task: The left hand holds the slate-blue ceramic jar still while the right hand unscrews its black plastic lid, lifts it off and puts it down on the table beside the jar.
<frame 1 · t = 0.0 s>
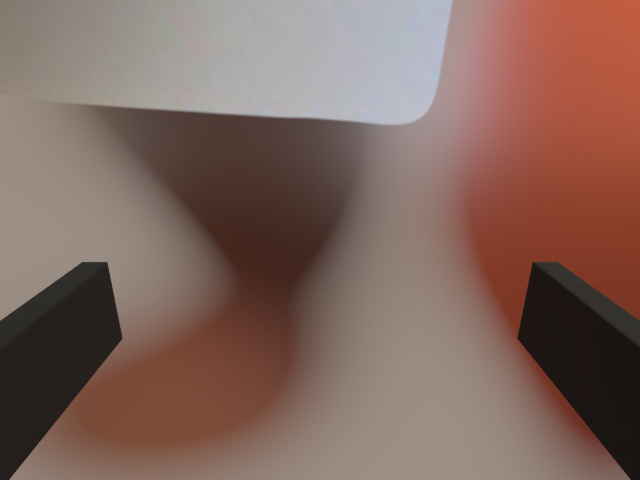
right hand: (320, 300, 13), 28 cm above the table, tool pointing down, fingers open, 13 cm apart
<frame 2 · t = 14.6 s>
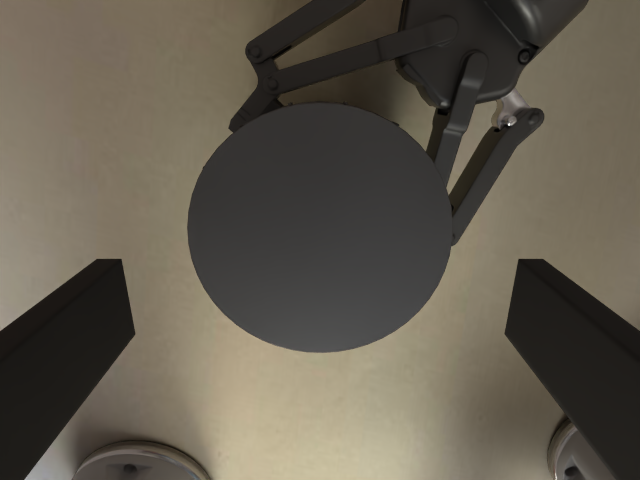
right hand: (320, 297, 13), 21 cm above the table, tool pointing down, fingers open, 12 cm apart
left hand: (279, 234, 28), fingers closed on jar, 10 cm apart
lid: (320, 239, 18), point 15 cm above the table, screwed on, not yet turned
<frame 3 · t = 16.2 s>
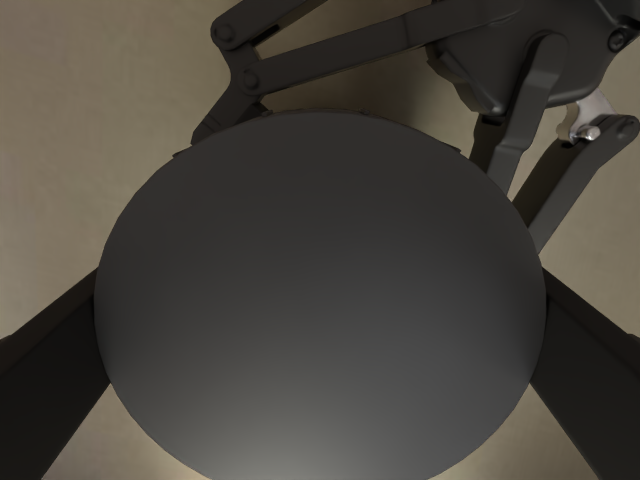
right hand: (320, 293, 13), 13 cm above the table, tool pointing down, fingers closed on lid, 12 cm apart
left hand: (265, 284, 20), fingers closed on jar, 10 cm apart
lid: (320, 337, 11), point 15 cm above the table, screwed on, not yet turned, touching right hand
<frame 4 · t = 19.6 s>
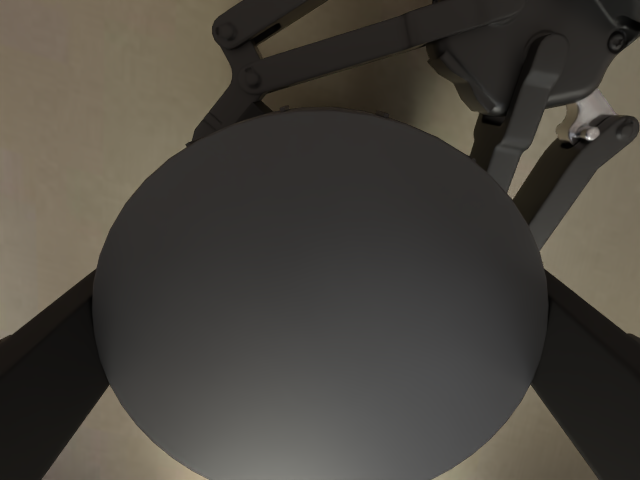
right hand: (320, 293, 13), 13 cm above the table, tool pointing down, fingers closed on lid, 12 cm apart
left hand: (265, 283, 21), fingers closed on jar, 10 cm apart
lid: (320, 338, 11), point 16 cm above the table, turned 109° so far, risen 0.2 cm, still on its thread, touching right hand
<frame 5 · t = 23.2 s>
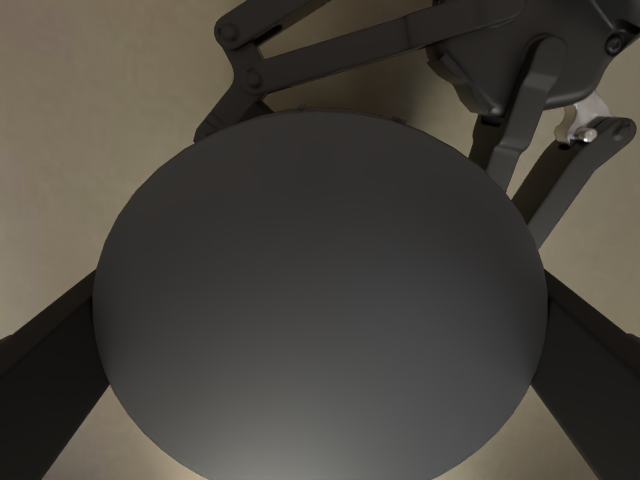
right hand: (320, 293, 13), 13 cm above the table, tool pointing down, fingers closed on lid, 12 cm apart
left hand: (265, 281, 21), fingers closed on jar, 10 cm apart
lid: (320, 338, 11), point 16 cm above the table, turned 217° so far, risen 0.3 cm, still on its thread, touching right hand
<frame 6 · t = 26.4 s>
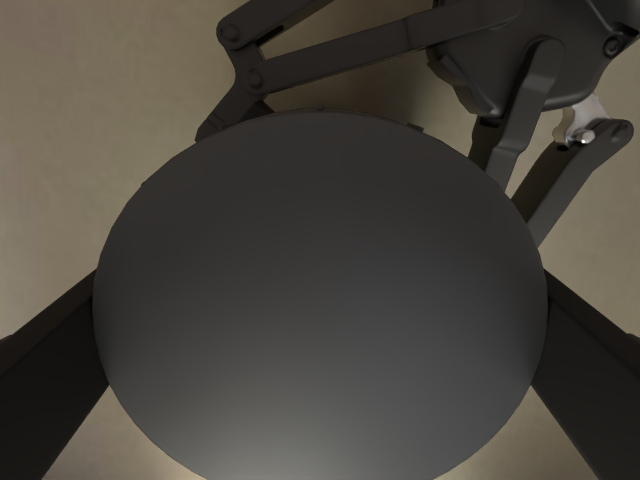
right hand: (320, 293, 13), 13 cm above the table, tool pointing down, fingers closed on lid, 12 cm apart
left hand: (265, 280, 21), fingers closed on jar, 10 cm apart
lid: (320, 339, 11), point 16 cm above the table, turned 326° so far, risen 0.5 cm, still on its thread, touching right hand
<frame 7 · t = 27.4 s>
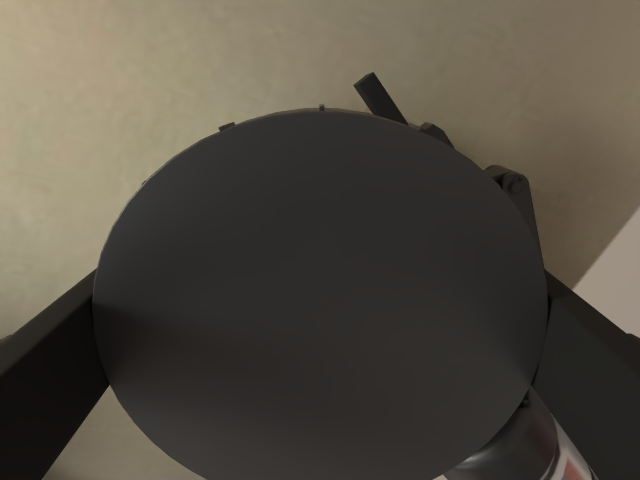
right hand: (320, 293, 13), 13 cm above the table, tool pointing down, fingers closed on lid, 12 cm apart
lid: (320, 338, 11), point 16 cm above the table, off its thread, touching right hand
when the right hand's fingers open (0 cm above the table, at t = 32.8 s): lid drops 1 cm, point 1 cm above the table.
when the left hand's fingers open (6 cm above the table, at t = 33.9 s): jar stays where it is, on the table.
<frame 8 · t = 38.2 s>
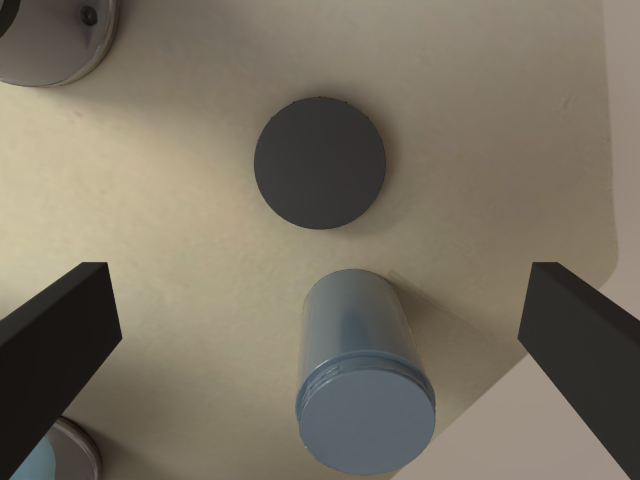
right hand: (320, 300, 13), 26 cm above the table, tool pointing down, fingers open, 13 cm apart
jar: (351, 313, 42), on the table
lid: (319, 166, 36), point 1 cm above the table, off its thread
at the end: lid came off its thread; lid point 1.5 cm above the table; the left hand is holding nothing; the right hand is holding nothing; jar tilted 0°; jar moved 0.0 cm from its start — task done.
